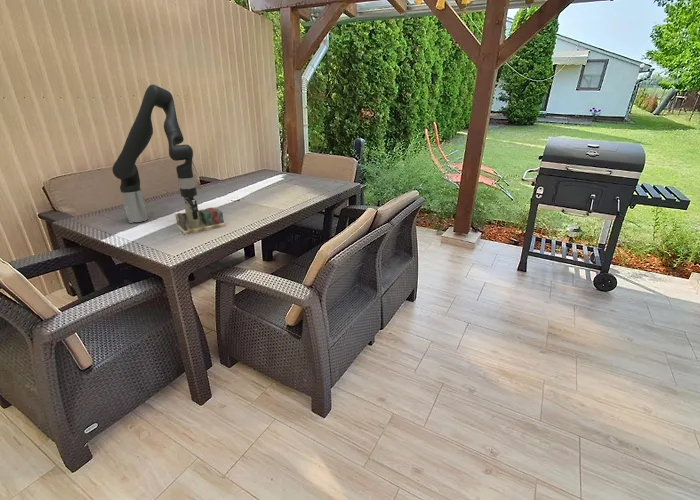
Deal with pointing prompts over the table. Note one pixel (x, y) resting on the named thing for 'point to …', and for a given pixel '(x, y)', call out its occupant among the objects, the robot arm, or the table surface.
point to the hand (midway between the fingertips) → (193, 217)
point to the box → (190, 217)
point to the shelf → (208, 219)
